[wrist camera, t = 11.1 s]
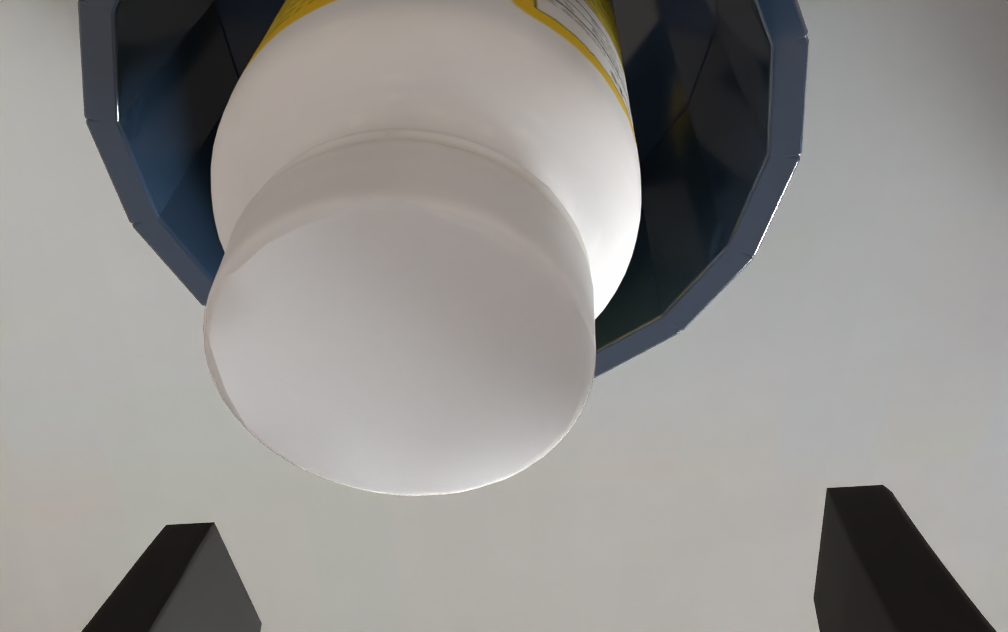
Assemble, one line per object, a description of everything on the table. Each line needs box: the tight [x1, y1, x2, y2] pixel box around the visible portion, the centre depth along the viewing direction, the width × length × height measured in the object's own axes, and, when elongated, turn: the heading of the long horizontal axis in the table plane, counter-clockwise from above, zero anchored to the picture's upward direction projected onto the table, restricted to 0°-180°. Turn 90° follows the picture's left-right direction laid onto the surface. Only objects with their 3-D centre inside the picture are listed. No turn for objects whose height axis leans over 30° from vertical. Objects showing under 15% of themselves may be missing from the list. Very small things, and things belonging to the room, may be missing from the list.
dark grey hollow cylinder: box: [78, 0, 809, 378], centre depth 16 cm, size 10×10×6 cm
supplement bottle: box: [203, 0, 641, 496], centre depth 13 cm, size 5×5×10 cm
